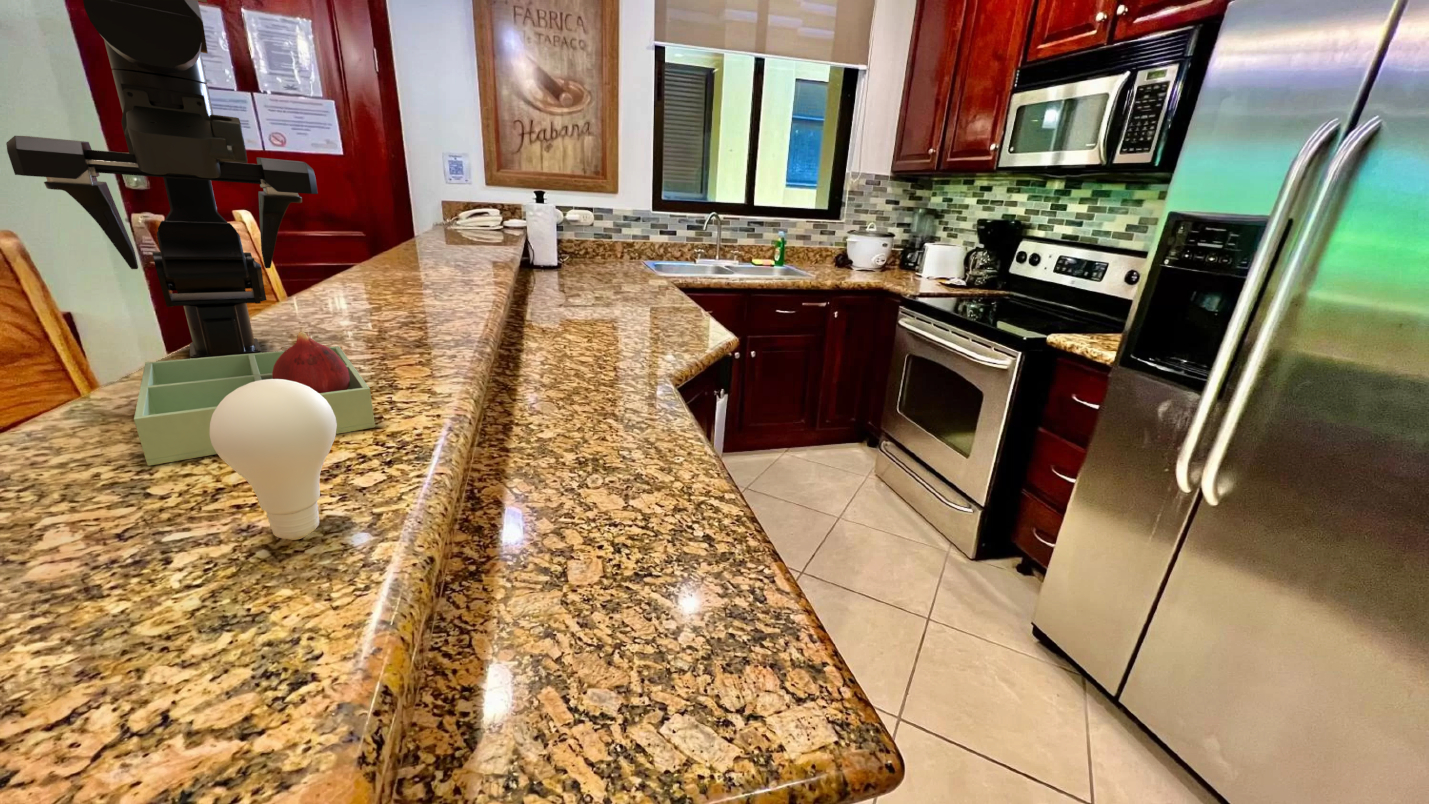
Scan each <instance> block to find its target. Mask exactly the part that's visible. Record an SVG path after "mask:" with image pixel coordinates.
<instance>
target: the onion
mask: <svg viewBox="0 0 1429 804" xmlns="http://www.w3.org/2000/svg"><path fill="white" fill-rule="evenodd" d="M328 347H329V346H326V345H325V344H322V343H320V342H317V341H316V340H314V339H313V338H312V337H311V336H310V335H309V334H308V333H306V332H304V331H299V332H298V334H297V338H296V342H295V343H294V344H293V345H292V346H290V347H289V348H288V349H286V350H284V351H285V352H284V353H283V354H282V355H281V356H280V357H279V358H278V360H277V361H276V363H275V365H274V367H273V372H272V378H273V379H284V380H289V381H294V382H298V383H301V384H303V385H306V386H308V387H310V388H312V389H313V390H315V391H316V392H318V393H326V392H333V391H341V390H347V389H348V387H349V382H350V376H349V372H348V369H347V367H346V365H345V364H344V362H343V361H342V360H341V359H340V357H339V356H338V355H337V354H336V353H335V352H334V351H332V350H331V349H330V348H328Z"/></svg>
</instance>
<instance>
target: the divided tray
mask: <svg viewBox="0 0 1429 804" xmlns="http://www.w3.org/2000/svg"><path fill="white" fill-rule="evenodd" d="M327 347H328V348H330V349H331V350H332V351H334V352H335V353H336V354H337V355H338V356H339V357H340V359H341V360H342V361H343V362H344V364H345V365H346V367H347V369H348V372H349V376H350V382H349V387H348V389H347V390H341V391H333V392H326V393H319V394H320V395H321V396H322V397H324V398H325V399H326V400H327V402H328V403H329V405H330V406H331V408H332V410H333V413H334V415H335V417H336V423H337V428H336V435H337V434H344V433H349V432H357V431H361V430H362V431H363V430H367V429H373V428H376V423H375V417H374V409H373V401H372V394H371V393H372V392H371V388H370V386H369V385H368V384H367V382H366V381H365V380H364V378H363V377H362V376H361V374H360V372H359V371H358V370H357V369H356V367H355V366H354V365H353V363H352V362H351V360H350V359H349V357H348V356H347V355H346V353H345V352H344V350H343V349H342V348H341V347H340V346H339V345H337V346H327ZM285 351H286V350H276V351H266V352H262V353H252V354H240V355H228V356H216V357H204V358H192V359H190V358H182V359H170V360H157V361H146V362H145V363H144V366H143V371H142V372H143V373H142V376H141V381H140V387H139V391H138V397H137V401H136V407H135V412H134V416H133V422H134V425H135V428H136V432H137V435H138V438H139V443H140V445H141V449H142V452H143V455H144V459H145V461H146V466H148V467H149V466H156V465H161V464H167V463H172V462H173V463H174V462H178V461H179V462H180V461H185V460H190V459H195V458H203V457H208V456H213V455H218V454H217V452H216V451H215V449H214V447H213V446H212V443H211V439H210V421H211V417H212V414H213V413H214V411H215V409H216V408H217V406H218V405H219V403H220V402H221V401H222V400H223V399H224V398H225V397H226V396H227V395H228V394H230V393H231V392H233V391H234V390H236V389H237V388H239V387H241V386H244V385H246V384H248V383H251V382H255V381H259V380H266V379H273V378H272V372H273V367H274V365H275V363H276V361H277V360H278V358H279V357H280V356H281V355H282V354H283V353H284V352H285Z"/></svg>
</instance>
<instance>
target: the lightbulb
mask: <svg viewBox="0 0 1429 804" xmlns="http://www.w3.org/2000/svg"><path fill="white" fill-rule="evenodd" d="M336 428H337V423H336V417H335V415H334V413H333V410H332V408H331V406H330V405H329V403H328V402H327V400H326V399H325V398H324V397H322V396H321V395H320V394H319V393H318V392H316V391H315V390H313V389H312V388H310V387H308V386H306V385H303V384H301V383H298V382H294V381H289V380H284V379H266V380H259V381H255V382H251V383H248V384H246V385H244V386H241V387H239V388H237V389H236V390H234V391H233V392H231V393H230V394H228V395H227V396H226V397H225V398H224V399H223V400H222V401H221V402H220V403H219V405H218V406H217V408H216V409H215V411H214V413H213V414H212V417H211V421H210V439H211V443H212V446H213V447H214V449H215V451H216V452H217V454H216V455H218V457H219V458H220V460H222V461H223V462H224V463H226V465H227V466H228V467H230V469H232V471H234V472H236V473H237V474H238V475H239V476H240V477H242V478H243V479H245V481H246V482H247V483H248V485H250V487H251V488H252V491H253V492H254V494H255V496H256V498H257V502H258V505H259V506H260V508H261V510H262V511H263V512H265V513H266V517H267V519H268V523H269V527H270V529H271V532H272V534H273V536H275V537H277V538H279V539H282V540H291V541H297V540H300V539H303V538H305V537H307V536H308V535H309V534H311V533H312V532H315V530H316V529H317V528H318V527H319V526H320V510H319V505H318V501H319V499H320V496H321V485H320V479H321V472H322V469H323V466H324V463H325V461H326V459H327V457H328V455H329V454H330V452H331V449H332V446H333V444H334V442H335V439H336V435H337V434H336Z"/></svg>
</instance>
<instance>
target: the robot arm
mask: <svg viewBox="0 0 1429 804" xmlns="http://www.w3.org/2000/svg"><path fill="white" fill-rule="evenodd" d="M199 2H201V3H206V4H207V3H208V0H82V3H83V8H84V11H85V13H86V15H87V17H88V20H89V22H90V23H91V25H93V27H94V29H95V30H96V31H97V34H99V35H100V36H101V38H102V39H103V41H104V45H105V49H106V52H107V56H108V57H107V58H108V60H109V64H110V68H111V73H112V76H113V81H114V84H115V89H116V92H117V97H118V99H119V104H120V108H121V111H122V117H121V121H120V124H121V127H122V131H123V134H124V138H125V142H126V146H127V151H128V152H120V151H111V150H110V151H109V150H99V149H98V150H97V149H92V147H91V145H90V141H84V140H76V139H75V140H74V139H65V138H64V139H63V138H53V137H42V136H31V135H13V136H12V137H11V138H10V139H9V140H8V141H6V142H5V145H6V153H7V156H8V158H9V161H10V164H11V167H12V171H13V173H14V175H15V176H23V177H37V178H38V177H39V178H46V181H43V184H44V186H45V188H46V189H48V190H54V191H55V190H56V191H63V192H66V193H67V194H68V195H69V196H70V197H71V198H72V199H74V200H75V201H76V202H77V203H78V204H79V205H80V206H81V207H82V208H83V209H84V210H85V211H86V212H87V214H89V216H90V217H91V218H92V219H93V220H94V221H95V222H96V223H97V225H98V226H99V227H100V228H101V230H102V232H104V234H105V235H106V236H107V238H108V239H109V241H110V242H111V244H112V245H113V246H114V247H115V249H116V250H117V252H118V253H119V254H120V256H121V257H122V259H123V260H124V261H125V262H126V264H127V265H128V267H129V268H130V269H131V270H138V269H139V264H138V260H137V256H136V255H137V254H136V252H135V248H134V246H133V244H132V241H131V238H130V237H129V234H128V231H127V228H126V227H125V225H124V222H123V219H122V217H121V215H120V212H119V210H118V207H117V205H116V202H115V200H114V197H113V195H112V192H111V190H110V188H109V185H108V183H107V181H100V180H99V181H98V179H97V178H98V177H100V174H109V175H121V176H122V175H125V176H138V177H139V176H140V177H153V178H163V182H164V186H165V191H166V196H167V200H168V204H169V208H170V210H169V212H168V214H167V215H166V217H165V218H164V220H161V221H160V223H159V225H158V227H157V231H156V238H157V241H158V247H159V251H152V257H153V263H154V267H155V271H156V274H157V278H158V282H159V285H160V289H161V292H162V296H163V299H164V302H165V305H166V308H174V307H183V309H184V314H185V317H186V321H187V325H188V329H189V333H190V337H191V341H192V342H190V343H189V359H192V358H204V357H216V356H228V355H240V354H252V353H263V352H262V348H261V345H260V342H259V339H258V338H256V337H254V332H253V328H252V323H251V322H252V321H251V318H250V313H249V308H248V304H255V305H256V304H262V302H265V301H267V296H266V295H267V294H266V289H265V284H264V275H263V269H262V264H260V263H259V262H257V261H256V260H255V258H254V257H253V255H252V252H251V251H250V252H249V251H246V252H244V247H243V243H242V238H241V236H240V234H239V233H238V231H237V229H236V228H235V227H234V226H233V224H231V223H230V222H228V221H227V220H226V219H225V218H224V217H223V216H222V215H221V214H220V213H219V212H218V207H217V204H216V199H215V194H214V190H213V189H214V188H213V185H212V182H224V183H238V184H253V185H259V187H260V188H261V189H263V191H261V190H260V191H258V212H259V213H258V214H259V231H260V249H261V250H260V252H261V257H262V260H263V266H264V268H265V269H271V267H272V263H273V258H274V253H275V248H276V243H277V239H278V238H277V237H278V233H279V230H280V226H281V224H282V222H283V218H284V216H285V214H286V212H287V210H288V208H289V206H290V205H291V203H296V204H301V203H303V197H302V196H300V195H299V194H305V195H318V194H319V191H318V185H317V179H316V175H315V171H314V169H313V167H311V166H310V165H309V164H308V163H307V162H305V161H301V160H300V161H299V160H290V159H289V160H287V159H278V158H269V157H268V158H267V157H256V163H248V156H247V149H246V143H245V138H244V133H243V129H242V123H241V120H240V117H237V116H236V117H235V116H227V115H219V114H214V111H213V105H212V101H211V96H210V91H209V86H208V81H207V76H206V70H205V66H204V61H203V56H202V53H203V54H208V53H209V52H208V46H207V39H206V33H205V27H204V21H203V17H202V12H201V8H200V3H199ZM246 289H247V290H249V289H250V290H251V291H246ZM173 291H176V292H177V293H176V292H175V293H173Z"/></svg>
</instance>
